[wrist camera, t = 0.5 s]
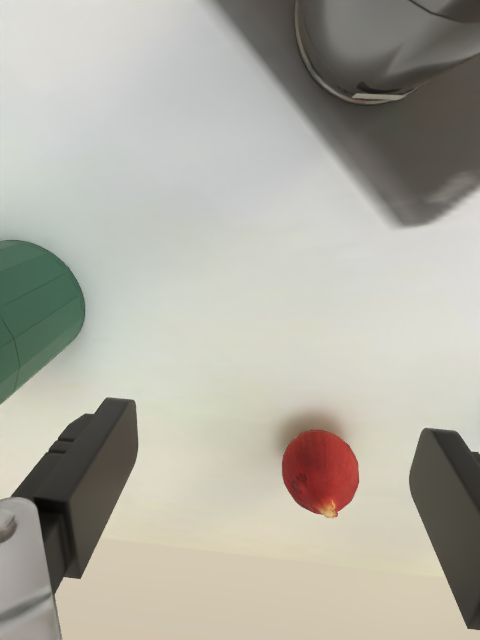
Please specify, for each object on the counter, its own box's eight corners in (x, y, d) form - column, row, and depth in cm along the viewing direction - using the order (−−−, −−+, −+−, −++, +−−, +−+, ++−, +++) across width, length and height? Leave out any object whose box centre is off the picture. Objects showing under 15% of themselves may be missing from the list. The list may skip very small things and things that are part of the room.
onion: (299, 472, 34) (306, 556, 27) (269, 425, 33) (268, 501, 25) (360, 449, 33) (384, 532, 26) (331, 400, 31) (349, 472, 24)
